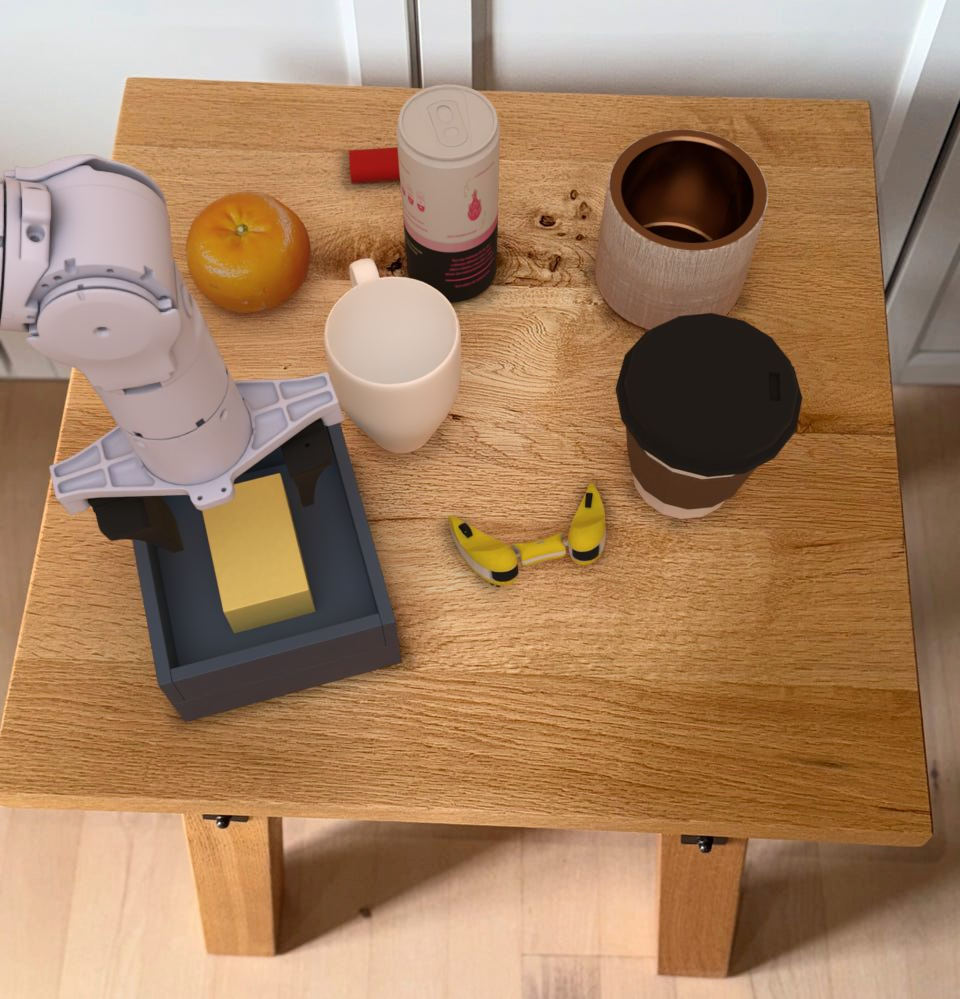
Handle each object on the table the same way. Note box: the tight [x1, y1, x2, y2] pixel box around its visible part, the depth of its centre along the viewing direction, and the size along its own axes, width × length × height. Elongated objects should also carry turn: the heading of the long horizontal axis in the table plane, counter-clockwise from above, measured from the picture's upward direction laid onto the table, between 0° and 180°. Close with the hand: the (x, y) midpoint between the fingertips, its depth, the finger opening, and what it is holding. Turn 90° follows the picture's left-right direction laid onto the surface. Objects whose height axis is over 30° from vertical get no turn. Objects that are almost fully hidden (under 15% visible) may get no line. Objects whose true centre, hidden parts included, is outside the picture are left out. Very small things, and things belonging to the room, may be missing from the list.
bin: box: [131, 422, 403, 723], centre depth 74 cm, size 14×15×7 cm
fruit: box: [185, 190, 312, 314], centre depth 85 cm, size 8×8×8 cm
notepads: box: [202, 473, 316, 633], centre depth 72 cm, size 5×8×4 cm, turn 16°
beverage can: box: [395, 83, 501, 304], centre depth 82 cm, size 6×7×15 cm
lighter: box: [348, 147, 400, 184], centre depth 92 cm, size 3×1×8 cm
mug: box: [323, 257, 462, 454], centre depth 78 cm, size 12×8×11 cm
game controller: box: [448, 481, 607, 588], centre depth 77 cm, size 10×6×4 cm, turn 106°
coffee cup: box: [615, 313, 803, 520], centre depth 75 cm, size 11×11×12 cm
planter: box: [594, 128, 769, 331], centre depth 84 cm, size 11×11×10 cm
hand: (239, 513), depth 68 cm, fingers open, 7 cm apart
